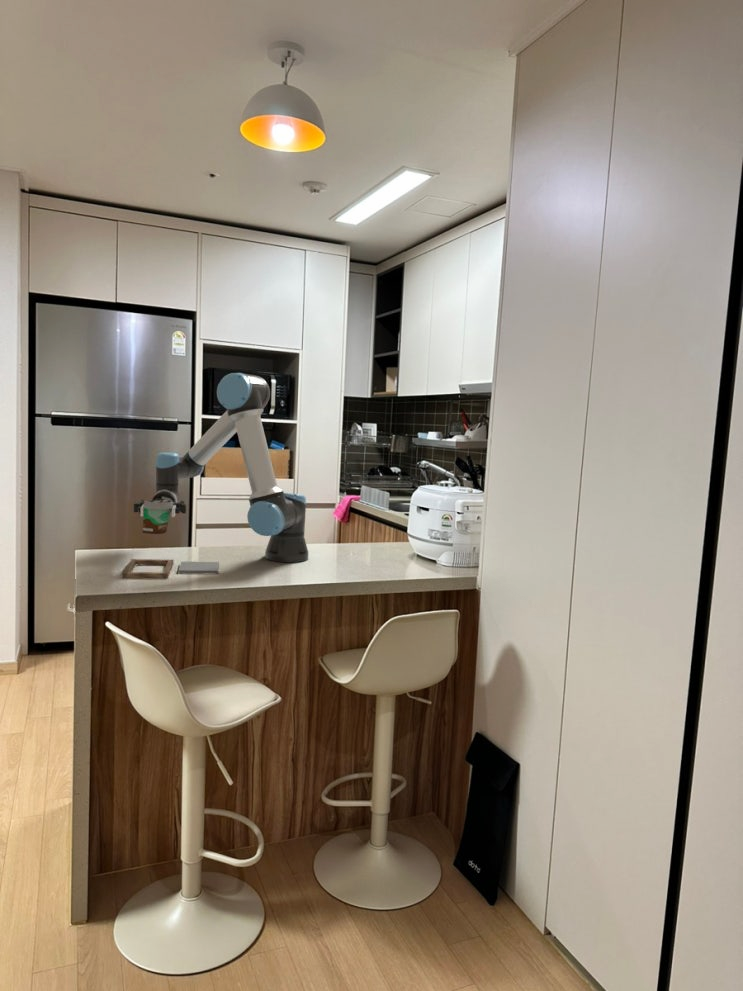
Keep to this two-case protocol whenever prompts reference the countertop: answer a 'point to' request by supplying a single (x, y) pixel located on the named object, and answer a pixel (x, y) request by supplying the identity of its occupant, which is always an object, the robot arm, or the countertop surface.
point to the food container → (156, 515)
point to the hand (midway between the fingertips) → (157, 512)
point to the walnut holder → (133, 562)
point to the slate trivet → (199, 567)
